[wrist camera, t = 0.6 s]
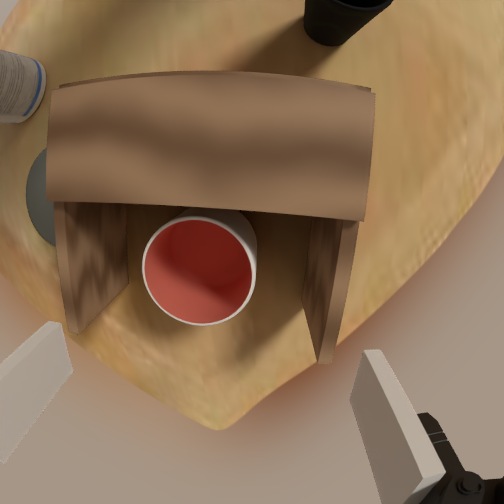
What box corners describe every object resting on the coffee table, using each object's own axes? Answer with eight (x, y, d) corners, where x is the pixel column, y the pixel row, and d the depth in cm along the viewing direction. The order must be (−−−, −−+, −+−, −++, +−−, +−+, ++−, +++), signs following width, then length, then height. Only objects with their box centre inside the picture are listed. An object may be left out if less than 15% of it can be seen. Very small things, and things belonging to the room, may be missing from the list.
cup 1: (170, 200, 35) (137, 215, 25) (259, 201, 34) (257, 217, 25) (173, 282, 38) (146, 321, 28) (256, 286, 37) (253, 329, 28)
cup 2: (350, 64, 29) (388, 25, 18) (286, 40, 29) (296, -10, 18) (365, 15, 27) (401, -32, 16) (304, -7, 27) (319, -64, 15)
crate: (122, 104, 31) (52, 83, 18) (332, 112, 31) (375, 85, 18) (120, 282, 38) (64, 337, 24) (311, 300, 38) (333, 370, 24)
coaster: (29, 145, 33) (26, 145, 32) (112, 137, 33) (109, 137, 32) (31, 243, 37) (29, 245, 36) (111, 251, 37) (109, 253, 36)
